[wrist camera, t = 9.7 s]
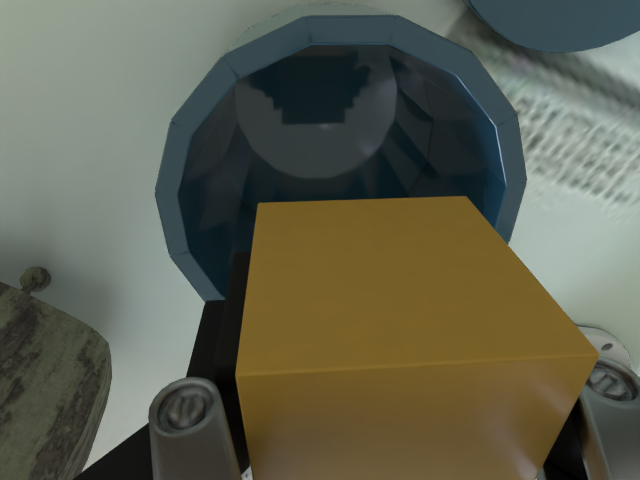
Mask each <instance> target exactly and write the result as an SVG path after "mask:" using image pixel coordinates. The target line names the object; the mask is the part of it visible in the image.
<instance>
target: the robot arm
mask: <svg viewBox="0 0 640 480" xmlns="http://www.w3.org/2000/svg"><path fill="white" fill-rule="evenodd" d="M250 259H251V252H240V253H234V257H233V262H232V267H231V272H230V277H229V282H228V287H227V292H226V297H225V300H207V301H206V303H205V306H204V309H203V313H202V317H201V321H200V325H199V329H198V333H197V336H196V340H195V344H194V348H193V352H192V356H191V360H190V364H189V368H188V372H187V375H186V378H182V379H179V380H177V381H175V382H172V383H170V384H169V385H168V386H166V387H165V388H163V389H162V390H161V391H160V392H159V393H158V394H157V396H156V397H155V398H154V399H153V402H152V404H151V406H150V408H149V417H148V419H149V423H148V424H146V425H145V426H144V427H142V428H141V429H140V430H138V431H137V432H136V433H134V434H133V435H131V436H130V437H129V438H127V439H126V440H125V441H123V442H122V443H121V444H119V445H118V446H117V447H115V448H114V449H113V450H111V451H110V452H109V453H107V454H106V455H105V456H103V457H102V458H101V459H99V460H98V461H97V462H95V463H94V464H92V465H91V466H90V467H88V468H87V469H86V470H84V471H83V472H82V473H80V474H79V475H78V476H76V477H75V478H74V479H72V480H242V476H241V475H242V474H243V473H244V472H245V471H246V470H247V469H248V468H249V467H250V460H249V454H248V448H247V442H246V436H245V431H244V425H243V419H242V413H241V407H240V401H239V395H238V389H237V383H236V377H235V372H236V364H237V357H238V349H239V342H240V334H241V327H242V319H243V312H244V304H245V297H246V289H247V282H248V274H249V267H250ZM578 328H579V330H580V331H581V332H582V333H583V334H584V335H585V337H586V338H587V339H588V340H589V341H590V343H591V344H592V345H593V346H594V347H595V348H596V350H597V351H598V352H599V354H600V356H599V358H598V360H597V362H596V364H595V366H594V368H593V370H592V372H591V374H590V376H589V377H588V379H587V381H586V383H585V385H584V387H583V389H582V391H581V393H580V395H579V397H578V399H577V401H576V402H575V404H574V406H573V408H572V410H571V412H570V414H569V416H568V418H567V420H566V422H565V424H564V426H563V427H562V429H561V431H560V433H559V435H558V437H557V439H556V441H555V443H554V445H553V447H552V449H551V451H550V452H549V454H548V456H547V458H546V460H545V462H544V464H543V466H542V468H541V470H540V472H539V474H538V476H537V477H536V479H537V480H640V378H639V377H638V376H637V375H636V374H635V373H634V372H633V371H632V370H630V366H631V361H630V357H629V354H628V352H627V351H626V349H625V348H624V346H623V345H622V344H621V343H620V342H619V341H618V340H617V339H616V338H615V337H614V336H612V335H610V334H609V333H607V332H605V331H602V330H599V329H595V328H588V327H578Z"/></svg>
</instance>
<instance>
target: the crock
mask: <svg viewBox="0 0 640 480" xmlns="http://www.w3.org/2000/svg"><path fill="white" fill-rule="evenodd" d="M526 181H527V176H526V169H525V163H524V156H523V149H522V142H521V136H520V129H519V122H518V115H517V114H516V111H515V110H514V108H513V107H512V105H511V104H510V103H509V101H508V100H507V98H506V97H505V96H504V94H503V93H502V92H501V90H500V89H499V87H498V86H497V85H496V83H495V82H494V80H493V79H492V78H491V76H490V75H489V74H488V72H487V71H486V69H485V68H484V67H483V65H482V64H481V62H480V61H479V60H478V58H477V57H476V56H475V54H473V52H472V51H470V50H468V49H466V48H464V47H462V46H460V45H458V44H456V43H454V42H452V41H450V40H448V39H446V38H444V37H442V36H440V35H437V34H435V33H433V32H431V31H429V30H427V29H425V28H423V27H421V26H419V25H417V24H415V23H413V22H411V21H409V20H407V19H405V18H403V17H401V16H399V15H395V14H391V13H388V12H384V11H380V10H376V9H373V8H369V7H365V6H361V5H357V4H327V3H325V4H299V5H295V6H293V7H291V8H289V9H287V10H285V11H283V12H281V13H279V14H276V15H274V16H272V17H270V18H269V19H267V20H265V21H263V22H260V23H258V24H256V25H254V26H252V27H250V28H248V29H247V30H246V31H245V32H244V33H243V34H242V35H241V36H240V37H239V39H238V40H237V41H236V42H235V43H234V44H233V45H232V46H231V47H230V48H229V49H228V50H227V51H226V52H225V53H224V54H223V55H222V56H221V58H220V59H219V60H218V61H217V63H216V64H215V65H214V66H213V68H212V69H211V70H210V71H209V73H208V74H207V75H206V76H205V78H204V79H203V80H202V81H201V83H200V84H199V85H198V86H197V88H196V89H195V90H194V91H193V93H192V94H191V95H190V96H189V98H188V99H187V100H186V101H185V103H184V104H183V105H182V106H181V108H180V109H179V110H178V111H177V113H176V114H175V115H174V116H173V117H172V119H171V122H170V124H169V129H168V133H167V138H166V142H165V147H164V151H163V156H162V160H161V165H160V169H159V174H158V178H157V183H156V187H155V197H156V202H157V206H158V210H159V214H160V218H161V222H162V227H163V231H164V235H165V239H166V243H167V248H168V252H169V255H170V257H171V259H172V260H173V261H174V263H175V264H176V265H177V267H178V268H179V269H180V270H181V272H182V273H183V274H184V276H185V277H186V278H187V280H188V281H189V282H190V284H191V285H192V286H193V287H194V289H195V290H196V291H197V293H198V294H199V295H200V297H201V298H202V299H203V301H204V302H205V303H206V301H207V300H225V297H226V292H227V287H228V282H229V277H230V272H231V267H232V262H233V257H234V253H240V252H251V251H252V244H253V236H254V229H255V221H256V214H257V206H258V203H269V202H299V201H329V200H359V199H390V198H420V197H450V196H466V197H467V198H468V199H469V200H470V201H471V202H472V203H473V205H474V206H475V207H476V208H477V209H478V211H479V212H480V213H481V214H482V215H483V216H484V218H485V219H486V220H487V221H488V222H489V224H490V225H491V226H492V227H493V228H494V229H495V231H496V232H497V233H498V234H499V235H500V236H501V238H502V239H503V240H504V241H505V242H506V244H507V245H508V244H509V241H510V239H511V235H512V232H513V229H514V225H515V222H516V218H517V215H518V211H519V208H520V204H521V201H522V197H523V194H524V190H525V187H526Z"/></svg>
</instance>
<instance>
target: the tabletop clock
mask: <svg viewBox="0 0 640 480" xmlns="http://www.w3.org/2000/svg"><path fill="white" fill-rule="evenodd" d="M50 280H51V278H50V275H49V273H48V272H47V271H46V270H45V269H44V268H41V267H31V268H28V269H26V271H25V272H24V273H23V274H22V275H21V277H20V283H21V285H22V287H23V288H22V289H21V290H19V289H16V288H14V287H11V286H9V285H6V284H4V283H2V282H0V480H72V479H74V478H75V477H76V476H78V475H79V474H80V473H81V472H82V470H83V468H84V466H85V464H86V462H87V460H88V457H89V454H90V451H91V448H92V445H93V442H94V440H95V437H96V434H97V431H98V428H99V425H100V422H101V419H102V416H103V413H104V410H105V407H106V404H107V400H108V395H109V391H110V385H111V379H112V367H111V354H110V349H109V344H108V342H107V341H106V340H105V339H104V338H103V337H102V336H101V335H100V334H99V333H98V332H97V331H95V330H94V329H93V328H91V327H90V326H88V325H87V324H85V323H84V322H82V321H80V320H78V319H76V318H74V317H72V316H70V315H69V314H67V313H65V312H63V311H61V310H59V309H57V308H55V307H53V306H51V305H49V304H47V303H45V302H43V301H41V300H39V299H37V298H35V297H33V296H31V295H30V293H31V292H39V291H42V290H44V289H45V288H46V287H47V286H48V285H49V283H50Z"/></svg>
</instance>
